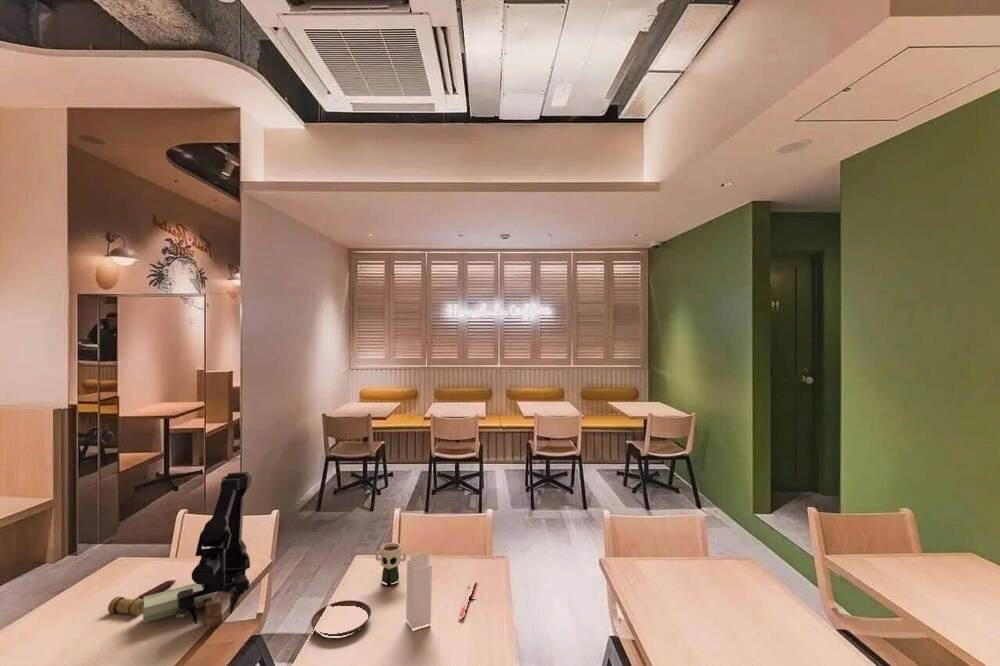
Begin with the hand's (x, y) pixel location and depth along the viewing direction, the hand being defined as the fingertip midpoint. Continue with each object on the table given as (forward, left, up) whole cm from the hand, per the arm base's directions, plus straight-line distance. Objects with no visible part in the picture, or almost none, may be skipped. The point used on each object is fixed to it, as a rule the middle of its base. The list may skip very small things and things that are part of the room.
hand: (213, 618), depth 149 cm
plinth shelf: (+8, -11, -1) cm, 13 cm away
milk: (-50, +38, -1) cm, 63 cm away
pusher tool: (0, -5, -1) cm, 5 cm away
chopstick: (-70, +37, -2) cm, 80 cm away
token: (+7, -10, -1) cm, 12 cm away
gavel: (+15, -28, -2) cm, 31 cm away
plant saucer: (-31, +24, -2) cm, 40 cm away
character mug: (-54, +10, -1) cm, 55 cm away
